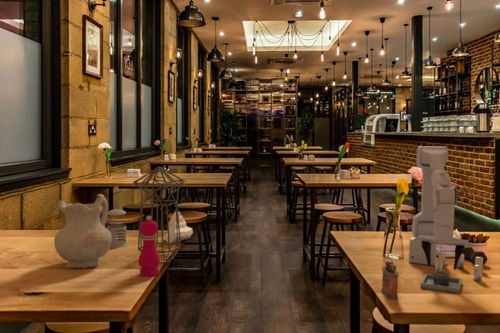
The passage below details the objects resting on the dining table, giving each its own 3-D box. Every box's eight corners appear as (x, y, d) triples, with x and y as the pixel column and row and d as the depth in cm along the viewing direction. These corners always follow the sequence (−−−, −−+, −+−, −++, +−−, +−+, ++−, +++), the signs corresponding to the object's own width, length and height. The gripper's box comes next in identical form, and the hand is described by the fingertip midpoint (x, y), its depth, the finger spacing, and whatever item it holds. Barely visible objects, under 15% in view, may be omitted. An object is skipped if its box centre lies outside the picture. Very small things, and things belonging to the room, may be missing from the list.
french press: (133, 244, 197) (133, 186, 196) (112, 249, 188) (111, 188, 186) (117, 241, 203) (117, 184, 201) (96, 246, 193) (95, 187, 191)
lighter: (379, 290, 142) (379, 258, 141) (389, 290, 142) (390, 258, 141) (389, 300, 134) (390, 266, 133) (400, 299, 134) (401, 266, 133)
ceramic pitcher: (80, 256, 181) (74, 193, 180) (126, 256, 177) (120, 191, 175) (45, 273, 160) (38, 202, 158) (96, 273, 156) (89, 200, 154)
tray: (420, 287, 144) (420, 283, 144) (425, 278, 154) (425, 273, 154) (459, 293, 139) (459, 288, 139) (461, 283, 149) (461, 278, 149)
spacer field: (434, 275, 157) (434, 260, 157) (439, 264, 170) (439, 251, 170) (481, 281, 150) (482, 266, 150) (482, 270, 164) (483, 256, 163)
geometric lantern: (131, 263, 169) (129, 168, 166) (151, 252, 184) (150, 165, 181) (170, 267, 164) (169, 169, 162) (188, 255, 179) (187, 166, 177)
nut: (432, 285, 145) (433, 274, 145) (434, 280, 150) (435, 270, 150) (447, 287, 143) (448, 276, 143) (449, 283, 148) (450, 272, 147)
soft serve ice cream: (156, 246, 201) (152, 213, 203) (179, 242, 213) (175, 212, 215) (176, 242, 194) (172, 209, 196) (200, 239, 206) (195, 207, 208)
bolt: (464, 259, 184) (481, 269, 169) (453, 253, 184) (469, 262, 169) (472, 247, 184) (490, 255, 169) (461, 240, 184) (478, 248, 169)
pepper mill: (164, 272, 159) (163, 214, 157) (153, 278, 152) (152, 218, 150) (145, 269, 161) (145, 213, 160) (134, 275, 154) (133, 216, 153)
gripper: (417, 224, 145) (416, 266, 146) (468, 229, 138) (466, 273, 139) (420, 220, 151) (419, 261, 152) (469, 225, 144) (467, 267, 145)
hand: (442, 266), depth 146 cm, fingers open, 7 cm apart
